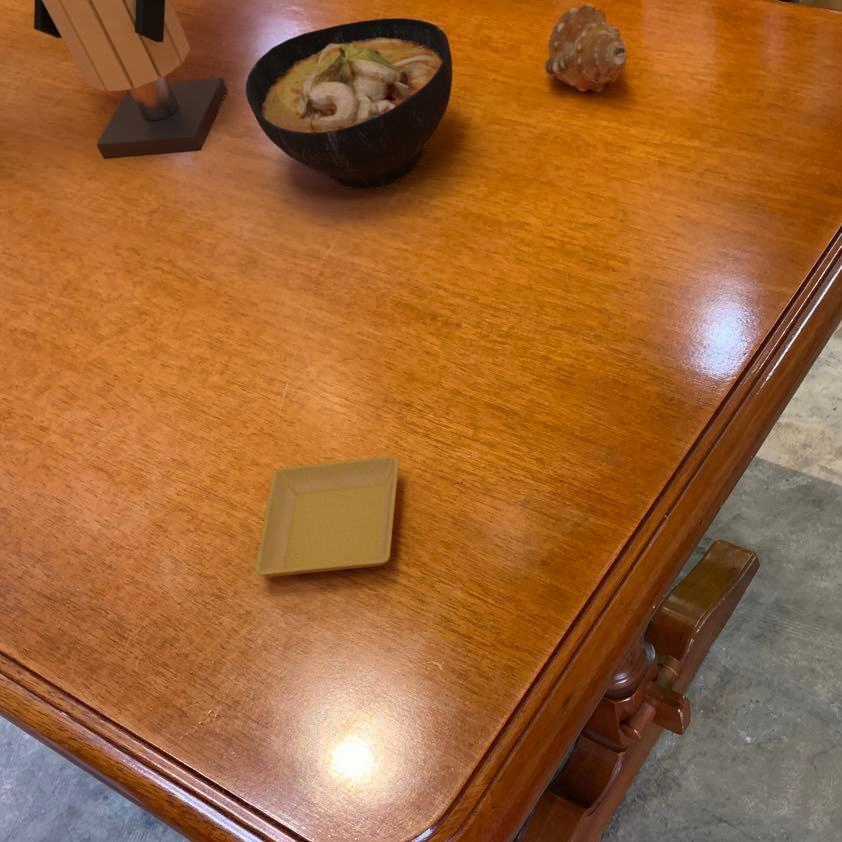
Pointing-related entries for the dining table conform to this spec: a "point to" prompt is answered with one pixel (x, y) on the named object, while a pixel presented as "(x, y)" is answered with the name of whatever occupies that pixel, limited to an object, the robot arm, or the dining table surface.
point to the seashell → (585, 49)
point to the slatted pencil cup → (117, 42)
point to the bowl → (355, 97)
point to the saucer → (329, 517)
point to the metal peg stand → (163, 117)
